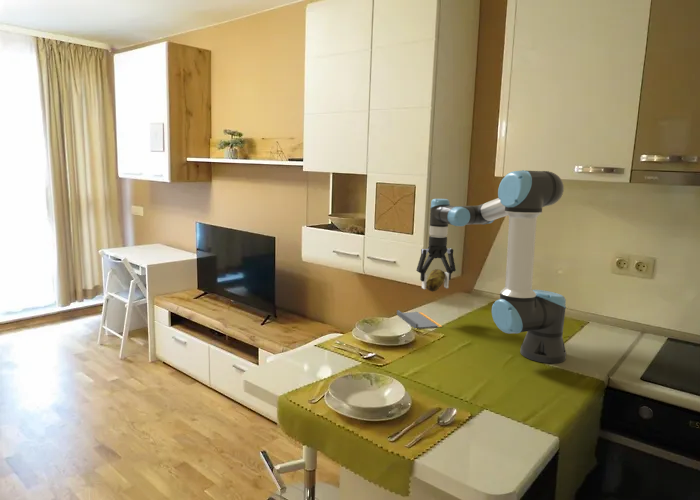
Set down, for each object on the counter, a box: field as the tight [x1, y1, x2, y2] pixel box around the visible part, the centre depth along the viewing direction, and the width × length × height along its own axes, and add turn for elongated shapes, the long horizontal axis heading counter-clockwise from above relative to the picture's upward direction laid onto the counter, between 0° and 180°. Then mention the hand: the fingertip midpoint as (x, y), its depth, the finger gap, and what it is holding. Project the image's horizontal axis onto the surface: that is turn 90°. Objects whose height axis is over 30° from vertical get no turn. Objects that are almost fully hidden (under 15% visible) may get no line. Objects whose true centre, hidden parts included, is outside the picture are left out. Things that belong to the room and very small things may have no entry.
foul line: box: [418, 311, 443, 328], centre depth 220 cm, size 20×1×1 cm, turn 17°
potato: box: [426, 268, 445, 293], centre depth 216 cm, size 8×13×8 cm, turn 141°
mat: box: [396, 309, 439, 330], centre depth 218 cm, size 20×10×2 cm, turn 17°
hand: (435, 288), depth 217 cm, fingers closed on potato, 10 cm apart
